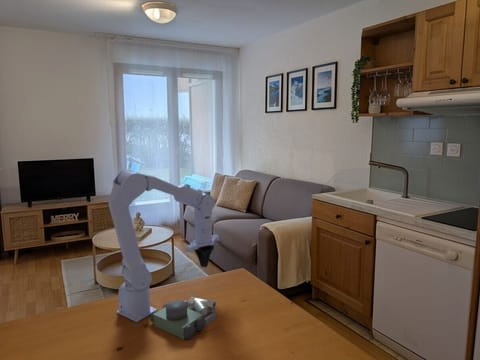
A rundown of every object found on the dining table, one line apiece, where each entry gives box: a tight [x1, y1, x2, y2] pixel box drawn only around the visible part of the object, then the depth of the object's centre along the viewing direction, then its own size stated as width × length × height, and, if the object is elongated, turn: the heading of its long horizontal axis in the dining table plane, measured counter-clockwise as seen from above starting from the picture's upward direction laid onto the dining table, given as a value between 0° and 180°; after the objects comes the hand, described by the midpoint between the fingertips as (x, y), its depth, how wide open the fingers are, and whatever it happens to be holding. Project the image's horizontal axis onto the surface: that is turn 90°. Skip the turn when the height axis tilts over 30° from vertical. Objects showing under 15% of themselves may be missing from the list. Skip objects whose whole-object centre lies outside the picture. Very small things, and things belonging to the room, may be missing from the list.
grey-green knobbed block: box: [149, 299, 218, 340], centre depth 105 cm, size 14×14×6 cm
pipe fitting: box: [187, 296, 217, 318], centre depth 110 cm, size 8×4×7 cm
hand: (203, 266), depth 122 cm, fingers closed
